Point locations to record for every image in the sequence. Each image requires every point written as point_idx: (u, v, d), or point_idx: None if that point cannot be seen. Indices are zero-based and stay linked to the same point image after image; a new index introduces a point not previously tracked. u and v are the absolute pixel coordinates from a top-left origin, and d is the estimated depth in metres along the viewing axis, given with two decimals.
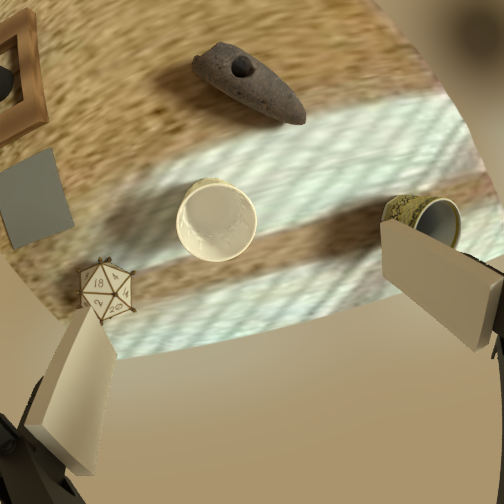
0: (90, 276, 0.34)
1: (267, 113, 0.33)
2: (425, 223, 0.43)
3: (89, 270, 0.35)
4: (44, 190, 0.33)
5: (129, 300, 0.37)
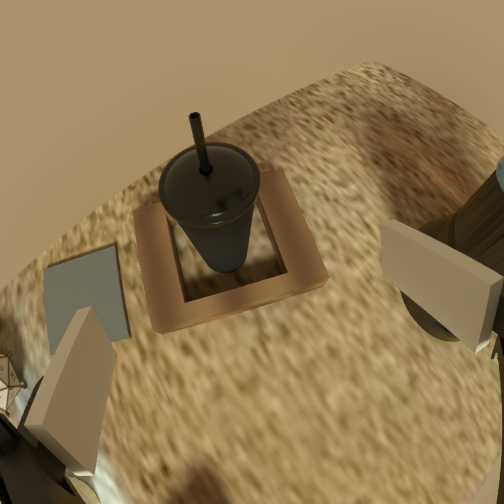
0: None
1: None
2: None
3: (4, 371, 0.25)
4: None
5: None
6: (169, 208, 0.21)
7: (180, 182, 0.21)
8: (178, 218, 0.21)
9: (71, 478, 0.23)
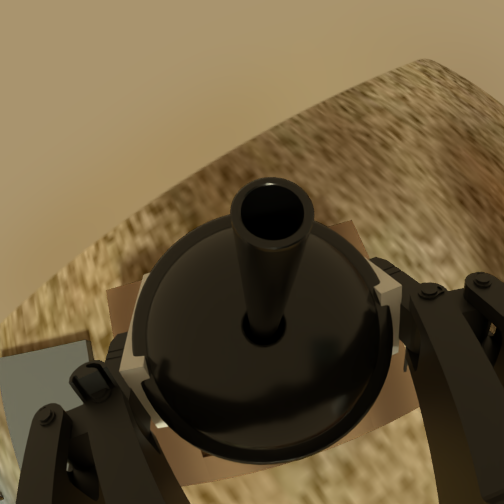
0: None
1: None
2: None
3: None
4: None
5: None
6: (166, 415, 0.07)
7: (189, 357, 0.07)
8: (193, 444, 0.07)
9: None
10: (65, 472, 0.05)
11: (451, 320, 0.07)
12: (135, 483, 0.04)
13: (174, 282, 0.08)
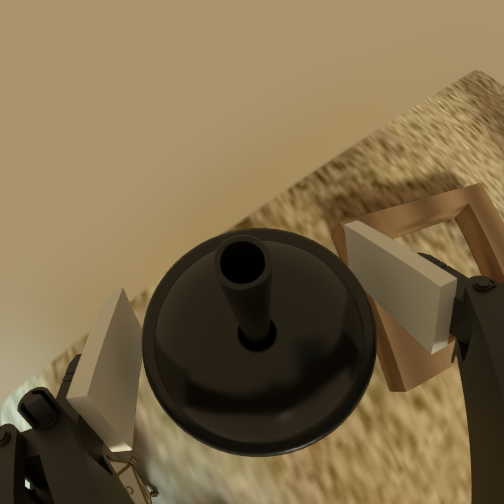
0: None
1: None
2: None
3: (136, 492, 0.15)
4: None
5: None
6: (172, 411, 0.08)
7: (192, 360, 0.08)
8: (195, 437, 0.08)
9: None
10: (23, 487, 0.04)
11: (501, 312, 0.06)
12: (86, 503, 0.04)
13: (179, 294, 0.10)
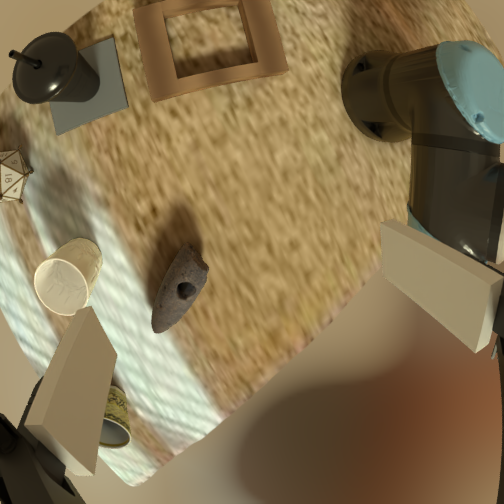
0: (13, 168, 0.30)
1: (154, 305, 0.42)
2: None
3: (18, 163, 0.31)
4: (89, 103, 0.34)
5: None
6: (18, 93, 0.21)
7: (22, 75, 0.19)
8: (23, 100, 0.21)
9: (78, 238, 0.40)
10: None
11: None
12: None
13: None
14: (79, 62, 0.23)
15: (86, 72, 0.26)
